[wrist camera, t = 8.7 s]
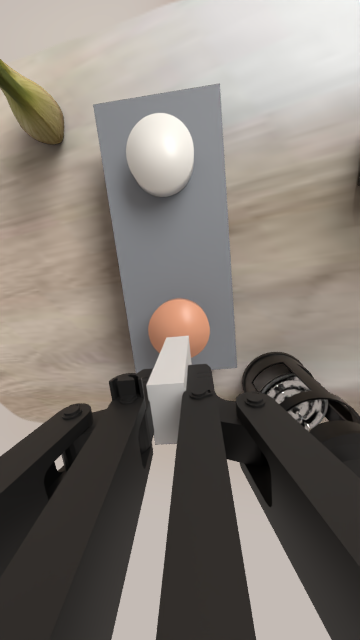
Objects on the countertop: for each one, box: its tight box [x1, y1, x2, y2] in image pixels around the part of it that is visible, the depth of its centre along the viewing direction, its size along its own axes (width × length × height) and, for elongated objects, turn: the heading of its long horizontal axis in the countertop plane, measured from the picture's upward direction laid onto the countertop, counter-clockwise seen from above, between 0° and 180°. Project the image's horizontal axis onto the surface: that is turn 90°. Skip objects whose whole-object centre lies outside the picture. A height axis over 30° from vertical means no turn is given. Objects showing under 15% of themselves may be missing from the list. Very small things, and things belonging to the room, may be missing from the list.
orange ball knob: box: [148, 298, 210, 358], centre depth 26 cm, size 6×6×8 cm
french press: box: [242, 352, 360, 478], centre depth 23 cm, size 12×9×23 cm
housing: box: [93, 84, 237, 374], centre depth 28 cm, size 12×28×7 cm, turn 6°
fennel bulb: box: [0, 59, 64, 145], centre depth 23 cm, size 6×5×12 cm
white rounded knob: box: [126, 113, 194, 197], centre depth 24 cm, size 6×6×8 cm
